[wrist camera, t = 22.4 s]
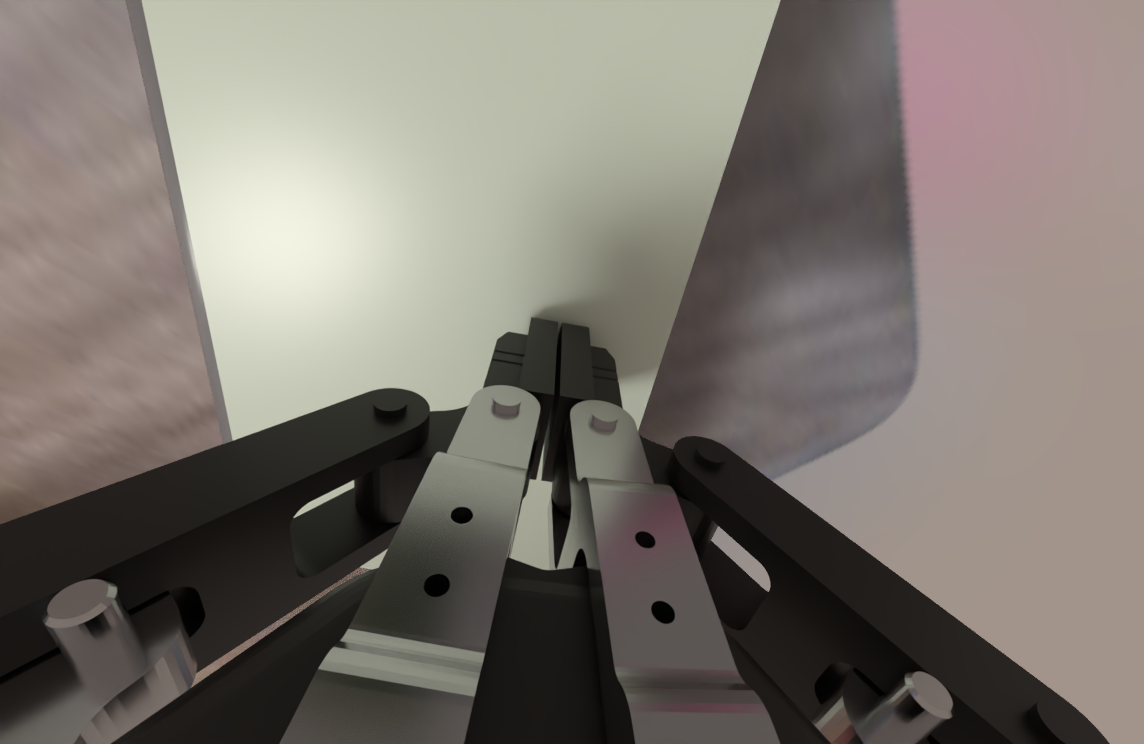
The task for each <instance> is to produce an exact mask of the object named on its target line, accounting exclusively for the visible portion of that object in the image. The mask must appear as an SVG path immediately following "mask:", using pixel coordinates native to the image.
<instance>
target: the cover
mask: <svg viewBox="0 0 1144 744" xmlns="http://www.w3.org/2000/svg"><path fill="white" fill-rule="evenodd" d="M780 1H781V0H142V5H143V10H144V14H145V19H146V24H147V29H148V34H149V39H150V43H151V48H152V53H153V58H154V63H155V68H156V72H157V77H158V82H159V87H160V92H161V97H162V101H163V106H164V111H165V116H166V121H167V126H168V130H169V135H170V140H171V145H172V150H173V154H174V159H175V164H176V169H177V174H178V179H179V183H180V188H181V193H182V198H183V203H184V208H185V212H186V217H187V222H188V227H189V232H190V237H191V241H192V246H193V251H194V256H195V261H196V266H197V270H198V275H199V280H200V285H201V290H202V295H203V299H204V304H205V309H206V314H207V319H208V323H209V328H210V333H211V338H212V343H213V348H214V352H215V357H216V362H217V367H218V372H219V377H220V381H221V386H222V391H223V396H224V401H225V406H226V410H227V415H228V420H229V425H230V430H231V435H232V439H233V440H236V439H239V438H242V437H244V436H247V435H250V434H253V433H256V432H258V431H261V430H264V429H267V428H269V427H272V426H275V425H278V424H280V423H283V422H286V421H289V420H292V419H294V418H297V417H300V416H303V415H305V414H308V413H311V412H314V411H317V410H319V409H322V408H325V407H328V406H330V405H333V404H336V403H339V402H341V401H344V400H347V399H350V398H353V397H355V396H358V395H361V394H364V393H366V392H369V391H373V390H377V389H383V388H400V389H406V390H409V391H413V392H415V393H417V394H419V395H421V396H422V397H423V398H424V399H426V401H427V402H428V404H429V406H430V411H446V410H454V409H459V408H463V407H465V406H468V405H469V403H470V401H471V399H472V397H473V395H474V394H475V393H476V392H477V391H479V390H481V389H483V386H484V382H485V379H486V376H487V372H488V369H489V365H490V362H491V359H492V355H493V352H494V349H495V345H496V342H497V339H498V338H500V337H501V336H503V335H504V334H505V333H507V332H514V333H519V334H525V335H528V332H529V326H530V321H531V317H533V318H539V319H545V320H550V321H556V322H558V334H557V342H558V337H559V333H560V328H561V324H562V323H568V324H573V325H579V326H584V327H589V331H590V344H591V346H595V347H600V348H606V350H607V351H608V352H609V353H610V354H611V355H612V357H613V358H614V359H615V363H616V370H617V371H616V372H617V376H618V382H619V388H620V394H621V400H622V406H623V409H624V410H625V411H627V412H628V413H629V414H630V415H631V416H632V418H633V419H634V421H635V423H636V426H637V429H638V430H639V427H640V424H641V421H642V418H643V415H644V412H645V409H646V406H647V403H648V400H649V397H650V394H651V390H652V387H653V384H654V381H655V378H656V375H657V372H658V369H659V366H660V363H661V360H662V357H663V354H664V351H665V348H666V345H667V342H668V339H669V336H670V333H671V330H672V327H673V324H674V321H675V318H676V315H677V312H678V309H679V306H680V303H681V300H682V297H683V294H684V291H685V288H686V285H687V282H688V279H689V276H690V273H691V270H692V267H693V264H694V261H695V258H696V254H697V251H698V248H699V245H700V242H701V239H702V236H703V233H704V230H705V227H706V224H707V221H708V218H709V215H710V212H711V209H712V206H713V203H714V200H715V197H716V194H717V191H718V188H719V185H720V182H721V179H722V176H723V173H724V170H725V167H726V164H727V161H728V158H729V155H730V152H731V149H732V146H733V143H734V140H735V137H736V134H737V131H738V128H739V125H740V122H741V118H742V115H743V112H744V109H745V106H746V103H747V100H748V97H749V94H750V91H751V88H752V85H753V82H754V79H755V76H756V73H757V70H758V67H759V64H760V61H761V58H762V55H763V52H764V49H765V46H766V43H767V40H768V37H769V34H770V31H771V28H772V25H773V22H774V19H775V16H776V13H777V10H778V7H779V4H780ZM543 452H544V445H543V450H542V455H541V459H540V464H539V469H538V474H537V478H536V480H532V479H530V481H529V486H528V491H527V494H526V496H525V497H524V499H523V501H522V506H521V511H520V515H519V520H518V525H517V529H516V534H515V538H514V543H513V548H512V552H511V557H510V558H512V559H514V560H517V561H520V562H523V563H525V564H528V565H531V566H534V567H536V568H539V569H543V570H549V543H548V514H547V511H548V505H549V500H550V496H551V492H552V482H547V481H541V478H542V465H543ZM352 488H354V480H353V481H351V482H349V483H347V484H345V485H343V486H341V487H339V488H337V489H335V490H333V491H331V492H329V493H327V494H325V495H323V496H321V497H319V498H317V499H315V500H313V501H311V502H309V503H308V504H306V505H305V506H304V507H302V508H301V509H300V510H299V511H298V512H297V514H296V515H295V516H294V518H295V517H297V516H299V515H301V514H303V513H305V512H307V511H309V510H311V509H313V508H315V507H317V506H319V505H321V504H322V503H324V502H326V501H328V500H330V499H332V498H334V497H336V496H338V495H340V494H342V493H344V492H346V491H348V490H350V489H352ZM387 550H388V549H387ZM387 550H385V551H384V552H382V553H381V554H379V555H378V556H376V557H374V558H373V559H371V560H370V561H368V562H367V563H365V564H364V565H362V566H361V567H360V568H366V569H372V570H373V569H376V568H379V566H380V564H381V562H382V560H383V558H384V556H385V554H386V552H387Z"/></svg>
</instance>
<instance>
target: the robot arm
mask: <svg viewBox="0 0 1144 744" xmlns="http://www.w3.org/2000/svg"><path fill="white" fill-rule="evenodd" d="M557 334H558V322H556V321H550V320H545V319H539V318H533V317H531V321H530V326H529V332H528V335H525V334H519V333H514V332H507V333H505V334H504V335H503V336H501V337H500V338H498V339H497V342H496V345H495V349H494V352H493V355H492V359H491V362H490V365H489V369H488V372H487V376H486V379H485V382H484V386H483V389H481V390H479V391H477V392H476V393H475V394H474V395H473V397H472V399H471V401H470V403H469V405H468V406H465V407H463V408H459V409H454V410H446V411H430V406H429V404H428V402H427V401H426V399H424V398H423V397H422V396H421V395H419V394H417V393H415V392H413V391H409V390H406V389H400V388H383V389H377V390H373V391H369V392H366V393H364V394H361V395H358V396H355V397H353V398H350V399H347V400H344V401H341V402H339V403H336V404H333V405H330V406H328V407H325V408H322V409H319V410H317V411H314V412H311V413H308V414H305V415H303V416H300V417H297V418H294V419H292V420H289V421H286V422H283V423H280V424H278V425H275V426H272V427H269V428H267V429H264V430H261V431H258V432H256V433H253V434H250V435H247V436H244V437H242V438H239V439H236V440H233V441H231V442H228V443H225V444H222V445H220V446H217V447H214V448H211V449H208V450H206V451H203V452H200V453H197V454H195V455H192V456H189V457H186V458H183V459H181V460H178V461H175V462H172V463H170V464H167V465H164V466H161V467H159V468H156V469H153V470H150V471H147V472H145V473H142V474H139V475H136V476H134V477H131V478H128V479H125V480H123V481H120V482H117V483H114V484H111V485H109V486H106V487H103V488H100V489H98V490H95V491H92V492H89V493H87V494H84V495H81V496H78V497H75V498H73V499H70V500H67V501H64V502H62V503H59V504H56V505H53V506H50V507H48V508H45V509H42V510H39V511H37V512H34V513H31V514H28V515H26V516H23V517H20V518H17V519H14V520H12V521H9V522H6V523H3V524H1V525H0V744H1109V742H1108V741H1107V740H1106V739H1105V737H1104V736H1103V735H1102V734H1101V733H1100V732H1099V731H1098V729H1097V728H1096V727H1095V726H1094V725H1093V724H1092V723H1091V722H1090V721H1089V720H1088V719H1087V718H1086V717H1085V716H1084V715H1083V714H1082V713H1080V712H1079V711H1078V710H1077V709H1076V708H1075V707H1074V706H1072V705H1071V704H1070V703H1069V702H1067V701H1066V700H1065V699H1064V698H1062V697H1061V696H1059V695H1058V694H1057V693H1055V692H1054V691H1053V690H1051V689H1050V688H1048V687H1047V686H1046V685H1044V684H1043V683H1042V682H1041V681H1039V680H1038V679H1037V678H1035V677H1034V676H1033V675H1031V674H1030V673H1029V672H1027V671H1026V670H1025V669H1023V668H1022V667H1020V666H1019V665H1018V664H1017V663H1015V662H1014V661H1012V660H1011V659H1010V658H1009V657H1007V656H1006V655H1004V654H1003V653H1002V652H1000V651H999V650H998V649H996V648H995V647H994V646H992V645H991V644H990V643H988V642H987V641H985V640H984V639H983V638H981V637H980V636H979V635H978V634H976V633H975V632H974V631H972V630H971V629H970V628H968V627H967V626H965V625H964V624H963V623H962V622H960V621H959V620H958V619H956V618H955V617H954V616H952V615H951V614H949V613H948V612H947V611H946V610H944V609H943V608H941V607H940V606H939V605H937V604H936V603H935V602H933V601H932V600H931V599H929V598H928V597H927V596H925V595H924V594H923V593H921V592H920V591H919V590H917V589H916V588H915V587H913V586H912V585H911V584H909V583H908V582H907V581H905V580H904V579H903V578H901V577H900V576H899V575H897V574H896V573H895V572H893V571H892V570H890V569H889V568H888V567H887V566H885V565H883V564H882V563H881V562H880V561H878V560H877V559H876V558H874V557H873V556H872V555H870V554H869V553H868V552H866V551H865V550H864V549H862V548H861V547H860V546H858V545H857V544H856V543H854V542H853V541H852V540H850V539H849V538H848V537H846V536H845V535H844V534H842V533H841V532H840V531H838V530H837V529H835V528H834V527H833V526H832V525H830V524H829V523H828V522H826V521H825V520H823V519H822V518H821V517H819V516H818V515H817V514H815V513H814V512H813V511H811V510H810V509H809V508H807V507H806V506H805V505H803V504H802V503H801V502H799V501H798V500H797V499H795V498H794V497H793V496H791V495H790V494H788V493H787V492H786V491H785V490H783V489H782V488H780V487H779V486H778V485H776V484H775V483H774V482H773V481H771V480H770V479H769V478H767V477H766V476H764V475H763V474H762V473H760V472H759V471H758V470H756V469H755V468H754V467H752V466H751V465H750V464H748V463H747V462H746V461H744V460H743V459H742V458H740V457H739V456H738V455H736V454H735V453H734V452H732V451H731V450H730V449H728V448H727V447H725V446H724V445H722V444H720V443H718V442H716V441H713V440H711V439H708V438H704V437H697V436H690V437H684V438H682V439H680V440H678V441H677V442H676V444H675V446H674V449H670V448H667V447H665V446H662V445H659V444H656V443H654V442H652V441H649V440H647V439H645V438H643V437H642V436H640V435H639V433H638V429H637V426H636V423H635V421H634V419H633V418H632V416H631V415H630V414H629V413H628V412H627V411H625V410H624V409H623V406H622V400H621V394H620V388H619V382H618V376H617V372H616V371H617V370H616V363H615V359H614V358H613V357H612V355H611V354H610V353H609V352H608V351H607V350H606V348H600V347H595V346H591V344H590V331H589V327H584V326H579V325H573V324H568V323H562V324H561V328H560V333H559V337H558V342H557ZM543 445H544V452H543V465H542V478H541V481H547V482H552V492H551V496H550V500H549V505H548V511H547V514H548V543H549V570H543V569H539V568H536V567H534V566H531V565H528V564H525V563H523V562H520V561H517V560H514V559H512V558H510V557H511V552H512V548H513V543H514V538H515V534H516V529H517V525H518V520H519V515H520V511H521V506H522V501H523V499H524V497H525V496H526V494H527V491H528V486H529V481H530V479H532V480H536V478H537V474H538V469H539V464H540V459H541V455H542V450H543ZM353 480H354V488H352V489H350V490H348V491H346V492H344V493H342V494H340V495H338V496H336V497H334V498H332V499H330V500H328V501H326V502H324V503H322V504H321V505H319V506H317V507H315V508H313V509H311V510H309V511H307V512H305V513H303V514H301V515H299V516H297V517H295V518H294V516H295V515H296V514H297V512H298V511H299V510H300V509H301V508H302V507H304V506H305V505H306V504H308V503H309V502H311V501H313V500H315V499H317V498H319V497H321V496H323V495H325V494H327V493H329V492H331V491H333V490H335V489H337V488H339V487H341V486H343V485H345V484H347V483H349V482H351V481H353ZM718 526H719V527H720V528H721V529H723V530H724V531H725V532H726V533H727V534H728V535H729V536H730V537H732V538H733V539H734V540H735V541H736V542H737V543H739V544H740V545H741V546H742V547H743V548H744V549H745V550H746V551H748V552H749V553H750V554H751V555H752V556H753V557H754V558H755V559H757V560H758V561H759V562H760V563H761V564H762V565H763V567H764V568H765V569H766V571H767V573H768V575H769V578H770V582H771V587H770V591H769V592H767V591H766V590H764V589H763V588H762V587H761V586H760V585H759V584H758V583H757V582H755V581H754V580H753V579H752V578H751V577H750V576H749V575H748V574H747V573H746V572H745V571H743V570H742V569H741V568H740V567H739V566H738V565H737V564H736V563H735V562H734V561H733V560H732V559H731V558H729V557H728V556H727V555H726V554H725V553H724V552H723V551H722V550H721V549H720V548H718V546H716V545H715V544H714V543H713V542H712V541H711V539H712V537H713V535H714V533H715V531H716V529H717V527H718ZM387 549H388V550H387ZM385 550H387V552H386V554H385V556H384V558H383V560H382V562H381V564H380V566H379V568H376V569H373V570H370V571H368V572H365V573H363V574H361V575H358V576H356V577H354V578H352V579H350V580H349V581H347V582H345V583H343V584H341V585H340V586H338V587H336V588H335V589H333V590H332V591H330V592H329V593H327V594H326V595H324V596H323V597H322V598H320V599H319V600H317V601H316V602H314V603H313V604H311V605H310V606H309V607H307V608H306V609H304V610H303V611H301V612H300V613H298V614H297V615H296V616H294V617H293V618H291V619H290V620H288V621H287V622H285V623H284V624H283V625H281V626H280V627H278V628H277V629H275V630H274V631H273V632H271V633H270V634H268V635H267V636H265V637H264V638H262V639H261V640H260V641H258V642H257V643H255V644H254V645H252V646H251V647H249V648H248V649H247V650H245V651H244V652H242V653H241V654H239V655H238V656H236V657H235V658H234V659H232V660H231V661H229V662H228V663H226V664H225V665H223V666H222V667H221V668H219V669H218V670H216V671H215V672H213V673H212V674H210V675H209V676H208V677H206V678H205V679H203V680H202V681H200V682H199V683H197V684H196V685H195V686H193V687H192V688H191V686H192V684H193V682H194V679H195V675H196V673H197V672H199V671H200V670H202V669H203V668H205V667H207V666H208V665H210V664H211V663H213V662H214V661H216V660H217V659H219V658H220V657H222V656H223V655H225V654H227V653H228V652H230V651H231V650H233V649H234V648H236V647H237V646H239V645H240V644H242V643H244V642H245V641H247V640H248V639H250V638H251V637H253V636H254V635H256V634H257V633H259V632H260V631H262V630H264V629H265V628H267V627H268V626H270V625H271V624H273V623H274V622H276V621H277V620H279V619H280V618H282V617H284V616H285V615H287V614H288V613H290V612H291V611H293V610H294V609H296V608H297V607H299V606H300V605H302V604H304V603H305V602H307V601H308V600H310V599H311V598H313V597H314V596H316V595H317V594H319V593H321V592H322V591H324V590H325V589H327V588H328V587H330V586H331V585H333V584H334V583H336V582H337V581H339V580H341V579H342V578H344V577H345V576H347V575H348V574H350V573H351V572H353V571H354V570H356V569H357V568H359V567H361V566H362V565H364V564H365V563H367V562H368V561H370V560H371V559H373V558H374V557H376V556H378V555H379V554H381V553H382V552H384V551H385Z"/></svg>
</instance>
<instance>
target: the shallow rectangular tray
mask: <svg viewBox="0 0 1144 744" xmlns="http://www.w3.org/2000/svg"><path fill="white" fill-rule="evenodd" d="M126 5H127V9H128V14H129V18H130V23H131V28H132V32H133V37H134V41H135V46H136V50H137V55H138V59H139V64H140V68H141V73H142V77H143V82H144V86H145V91H146V96H147V100H148V105H149V109H150V114H151V118H152V123H153V127H154V132H155V136H156V141H157V145H158V150H159V154H160V159H161V164H162V168H163V173H164V177H165V182H166V186H167V191H168V195H169V200H170V204H171V209H172V213H173V218H174V222H175V227H176V231H177V236H178V241H179V245H180V250H181V254H182V259H183V263H184V268H185V272H186V277H187V281H188V286H189V290H190V295H191V299H192V304H193V309H194V313H195V318H196V322H197V327H198V331H199V336H200V340H201V345H202V349H203V354H204V358H205V363H206V367H207V372H208V377H209V381H210V386H211V390H212V395H213V399H214V404H215V408H216V413H217V417H218V422H219V426H220V431H221V435H222V440H223V444H225V443H228V442H231V441H233V439H232V435H231V430H230V425H229V420H228V415H227V410H226V406H225V401H224V396H223V391H222V386H221V381H220V377H219V372H218V367H217V362H216V357H215V352H214V348H213V343H212V338H211V333H210V328H209V323H208V319H207V314H206V309H205V304H204V299H203V295H202V290H201V285H200V280H199V275H198V270H197V266H196V261H195V256H194V251H193V246H192V241H191V237H190V232H189V227H188V222H187V217H186V212H185V208H184V203H183V198H182V193H181V188H180V183H179V179H178V174H177V169H176V164H175V159H174V154H173V150H172V145H171V140H170V135H169V130H168V126H167V121H166V116H165V111H164V106H163V101H162V97H161V92H160V87H159V82H158V77H157V72H156V68H155V63H154V58H153V53H152V48H151V43H150V39H149V34H148V29H147V24H146V19H145V14H144V10H143V5H142V0H126Z"/></svg>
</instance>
